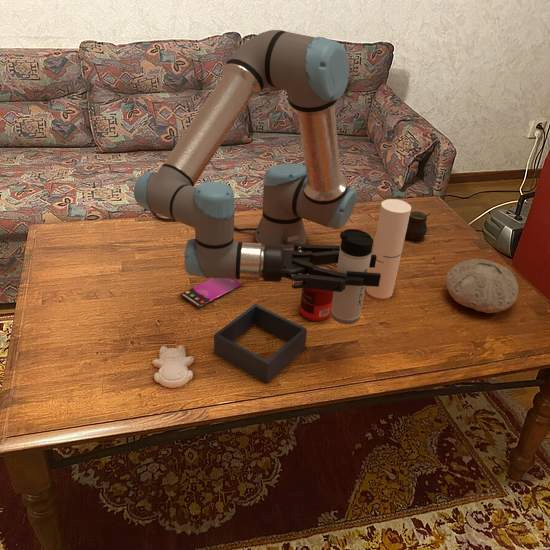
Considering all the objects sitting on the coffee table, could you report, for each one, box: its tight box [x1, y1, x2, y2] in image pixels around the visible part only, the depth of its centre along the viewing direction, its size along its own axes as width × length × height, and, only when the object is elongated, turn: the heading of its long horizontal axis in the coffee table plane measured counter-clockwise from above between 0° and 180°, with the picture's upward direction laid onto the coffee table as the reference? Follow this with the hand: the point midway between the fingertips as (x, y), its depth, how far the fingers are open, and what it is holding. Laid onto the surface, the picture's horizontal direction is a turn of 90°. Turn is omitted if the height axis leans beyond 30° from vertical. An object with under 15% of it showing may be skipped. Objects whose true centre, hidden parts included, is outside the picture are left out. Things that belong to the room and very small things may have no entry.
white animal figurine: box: [152, 344, 195, 389], centre depth 118 cm, size 9×12×3 cm
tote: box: [213, 303, 308, 384], centre depth 123 cm, size 15×15×6 cm
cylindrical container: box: [365, 198, 412, 300], centre depth 140 cm, size 7×7×25 cm
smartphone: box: [179, 278, 243, 308], centre depth 142 cm, size 7×15×1 cm, turn 137°
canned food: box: [299, 266, 334, 322], centre depth 134 cm, size 8×8×11 cm
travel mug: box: [330, 228, 374, 325], centre depth 113 cm, size 6×7×20 cm
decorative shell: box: [445, 257, 520, 314], centre depth 143 cm, size 18×18×10 cm
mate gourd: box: [405, 210, 432, 242], centre depth 169 cm, size 7×8×10 cm
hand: (377, 270), depth 112 cm, fingers closed on travel mug, 6 cm apart
